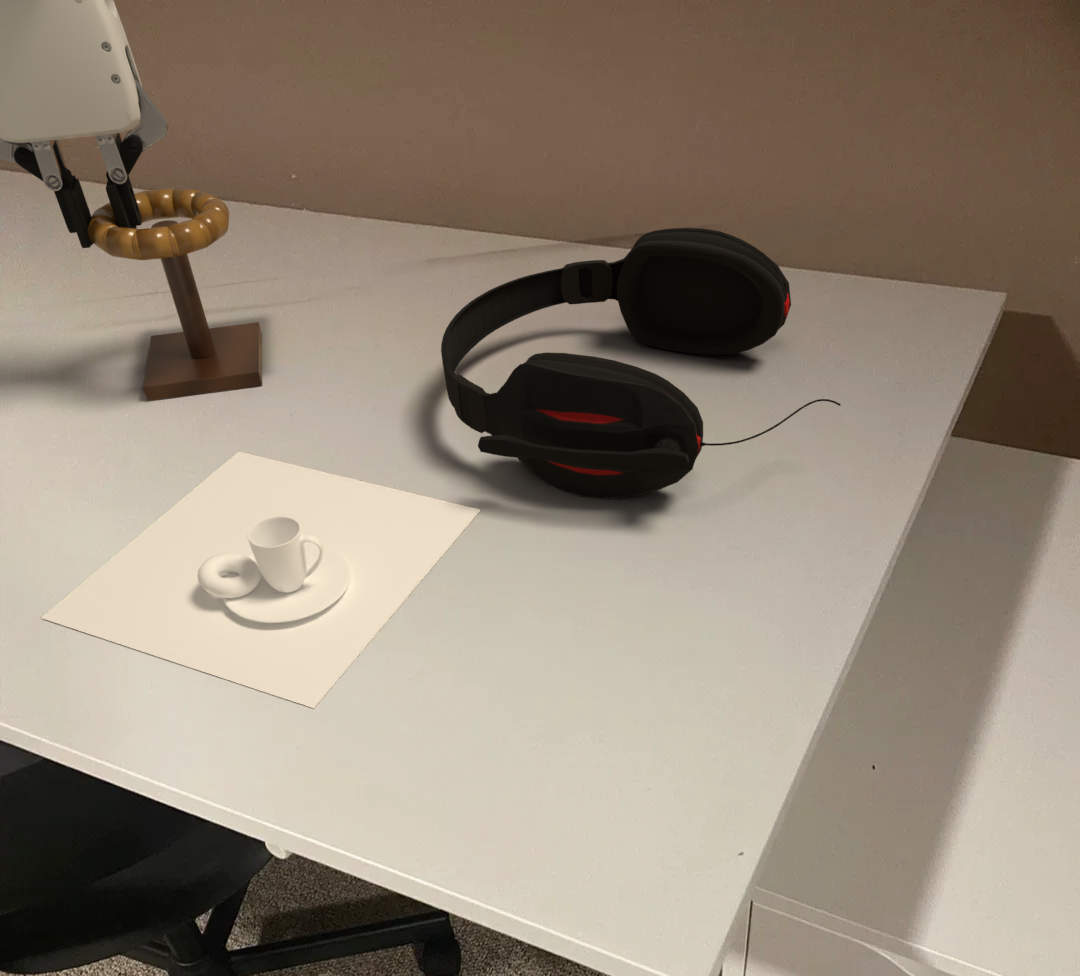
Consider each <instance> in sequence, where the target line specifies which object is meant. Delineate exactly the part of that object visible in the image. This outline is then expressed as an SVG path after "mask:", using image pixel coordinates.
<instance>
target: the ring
mask: <svg viewBox="0 0 1080 976" xmlns="http://www.w3.org/2000/svg"><path fill="white" fill-rule="evenodd" d="M134 195H135V198H136V201H137V204H138V207H139V211H140V214H141V219H142V224H144V223H148V222H151V221H155V220H164V219H166V220H168V219H176V218H181V219H182V218H183V219H187V220H185V221H181V222H178V223H177V224H174V225H170V226H167V227H157V228H151V227H149V228H137V229H132V228H124V227H118V225H117V222H116V219H115V216H114V213H113V210H112V207H111V204H110V201H109V202H107V203H105V204H104V205H103V206H101V207H99V208H97V209H95V210H94V212H92V214H91V216H92V217H91V221H90V224H89V227H88V235H89V238H90V240H91V241H92V242H93V245H94V246H96V247H97V248H99V249H100V250H102V251H103V252H105V253H106V254H108V255H109V256H112V257H115V258H120V259H121V258H122V259H129V260H138V261H151V260H161V259H162V258H172V257H178V256H181V255H185V254H187V255H188V254H191V253H194V252H198V251H201V250H204V249H206V248H208V247H210V246H211V245H213V244H215V242H217V241H218V240H220V239H221V238H223V237H224V236H225V235H227V233H228V230H229V225H230V224H229V223H230V211H229V208H228V206H227V204H226V203H225V202H224V201H223V200H222V199H221V198H218V197H217V196H214V195H212V194H210V193H208V192H207V191H204V190H196V189H190V188H180V187H171V188H161V189H150V190H149V189H148V190H143V191H139V192H134Z"/></svg>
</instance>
